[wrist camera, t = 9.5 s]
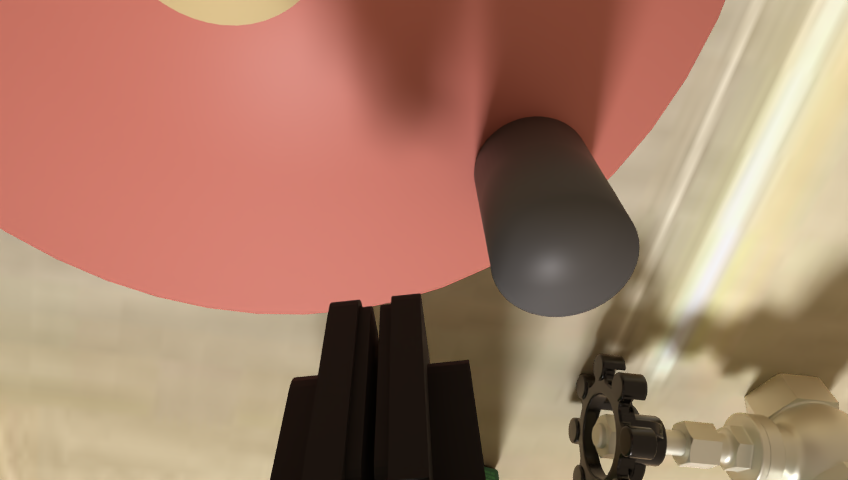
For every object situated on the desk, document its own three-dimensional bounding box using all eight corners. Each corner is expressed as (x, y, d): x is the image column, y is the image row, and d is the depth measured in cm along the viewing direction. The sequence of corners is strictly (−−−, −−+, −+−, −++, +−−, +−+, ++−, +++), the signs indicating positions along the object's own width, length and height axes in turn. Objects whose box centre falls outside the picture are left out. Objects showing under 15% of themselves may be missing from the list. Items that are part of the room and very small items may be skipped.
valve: (859, 350, 27) (599, 321, 26) (974, 477, 22) (649, 446, 21) (790, 450, 31) (558, 427, 30) (875, 581, 25) (592, 559, 24)
